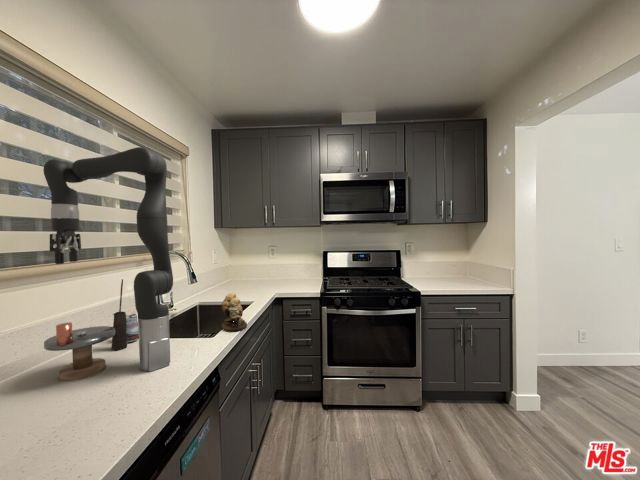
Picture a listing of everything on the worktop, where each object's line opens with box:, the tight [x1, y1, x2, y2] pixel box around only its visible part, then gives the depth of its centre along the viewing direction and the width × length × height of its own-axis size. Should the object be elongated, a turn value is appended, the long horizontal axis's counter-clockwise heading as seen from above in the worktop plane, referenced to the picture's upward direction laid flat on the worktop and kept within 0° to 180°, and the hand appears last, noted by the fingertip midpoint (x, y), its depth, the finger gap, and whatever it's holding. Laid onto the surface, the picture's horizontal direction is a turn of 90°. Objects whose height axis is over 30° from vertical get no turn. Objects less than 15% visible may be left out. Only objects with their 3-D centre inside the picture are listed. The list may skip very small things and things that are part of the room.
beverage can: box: [126, 312, 139, 343], centre depth 120 cm, size 6×7×12 cm
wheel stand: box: [57, 345, 107, 382], centre depth 93 cm, size 12×12×11 cm
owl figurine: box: [221, 292, 248, 332], centre depth 136 cm, size 18×12×17 cm, turn 29°
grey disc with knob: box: [43, 322, 115, 352], centre depth 92 cm, size 18×18×8 cm
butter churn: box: [110, 279, 128, 352], centre depth 111 cm, size 9×10×28 cm
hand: (66, 262), depth 99 cm, fingers open, 8 cm apart
